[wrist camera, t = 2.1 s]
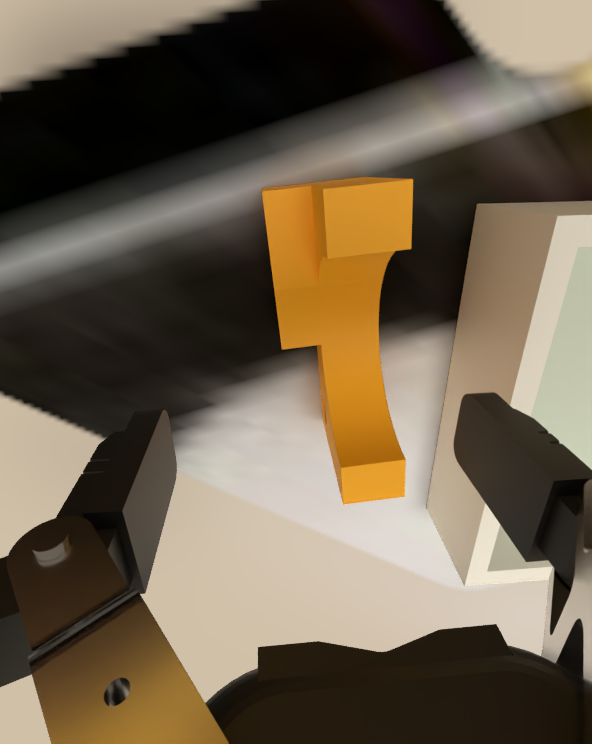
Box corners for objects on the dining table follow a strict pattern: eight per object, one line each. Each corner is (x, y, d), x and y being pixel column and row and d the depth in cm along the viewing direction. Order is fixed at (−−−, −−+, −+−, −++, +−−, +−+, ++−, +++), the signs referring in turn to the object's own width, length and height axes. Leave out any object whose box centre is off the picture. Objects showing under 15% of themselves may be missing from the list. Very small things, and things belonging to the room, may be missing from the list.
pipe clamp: (262, 188, 17) (261, 196, 11) (362, 176, 17) (413, 179, 12) (291, 423, 23) (301, 509, 17) (368, 413, 23) (404, 496, 17)
